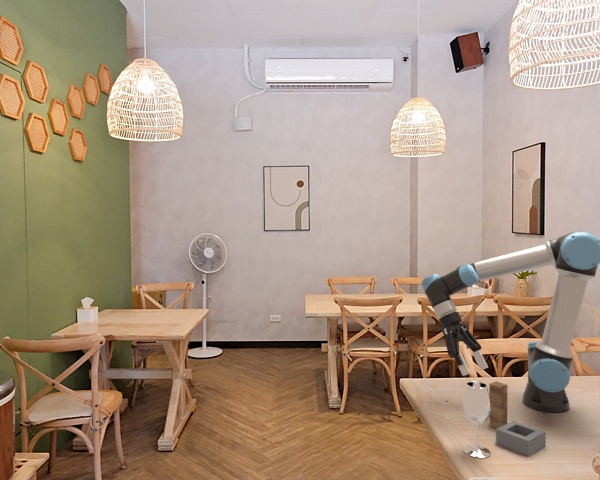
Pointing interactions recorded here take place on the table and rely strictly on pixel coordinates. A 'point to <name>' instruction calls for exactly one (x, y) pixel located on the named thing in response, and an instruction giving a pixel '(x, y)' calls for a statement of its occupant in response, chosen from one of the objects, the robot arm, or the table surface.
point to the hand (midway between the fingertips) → (476, 371)
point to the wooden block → (498, 404)
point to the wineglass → (476, 414)
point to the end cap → (521, 438)
